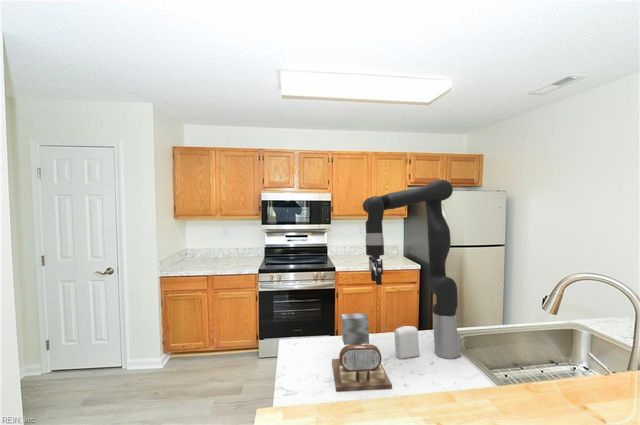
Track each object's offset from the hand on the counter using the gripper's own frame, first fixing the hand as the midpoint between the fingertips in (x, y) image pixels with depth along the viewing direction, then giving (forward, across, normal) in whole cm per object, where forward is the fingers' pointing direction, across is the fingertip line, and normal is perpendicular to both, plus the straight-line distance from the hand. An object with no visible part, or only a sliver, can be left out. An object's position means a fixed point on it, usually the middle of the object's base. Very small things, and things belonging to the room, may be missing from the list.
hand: (376, 282), depth 114 cm
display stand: (+32, -9, +10) cm, 35 cm away
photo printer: (+32, +4, -13) cm, 35 cm away
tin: (+28, -14, +10) cm, 33 cm away
